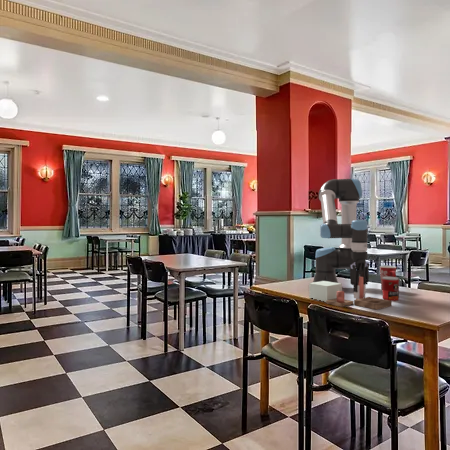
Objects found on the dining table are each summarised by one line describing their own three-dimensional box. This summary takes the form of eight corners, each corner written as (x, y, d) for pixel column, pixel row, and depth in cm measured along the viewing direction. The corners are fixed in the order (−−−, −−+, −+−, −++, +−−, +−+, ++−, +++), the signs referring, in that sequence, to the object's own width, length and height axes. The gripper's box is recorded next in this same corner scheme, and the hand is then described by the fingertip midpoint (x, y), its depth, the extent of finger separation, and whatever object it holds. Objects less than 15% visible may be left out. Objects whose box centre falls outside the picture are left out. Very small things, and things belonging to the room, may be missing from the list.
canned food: (389, 301, 197) (389, 279, 197) (379, 298, 205) (379, 276, 205) (402, 300, 199) (402, 278, 199) (391, 297, 207) (391, 276, 207)
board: (326, 303, 193) (326, 290, 193) (338, 301, 199) (338, 288, 199) (341, 306, 186) (341, 293, 186) (353, 304, 191) (353, 290, 191)
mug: (377, 289, 231) (377, 265, 231) (392, 288, 231) (392, 265, 230) (385, 293, 218) (385, 268, 218) (402, 293, 218) (402, 268, 218)
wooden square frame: (354, 305, 189) (354, 299, 189) (369, 301, 196) (369, 296, 196) (376, 309, 180) (376, 304, 180) (391, 306, 187) (391, 300, 187)
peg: (354, 300, 199) (354, 277, 199) (358, 300, 201) (358, 276, 201) (360, 302, 196) (360, 277, 196) (364, 301, 198) (364, 277, 198)
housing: (309, 298, 206) (309, 283, 206) (324, 295, 213) (324, 280, 212) (327, 302, 196) (326, 286, 196) (342, 299, 203) (341, 283, 203)
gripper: (355, 252, 190) (355, 301, 190) (376, 250, 200) (376, 296, 200) (342, 251, 196) (342, 298, 196) (363, 249, 206) (363, 294, 207)
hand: (359, 297), depth 198 cm, fingers open, 4 cm apart
